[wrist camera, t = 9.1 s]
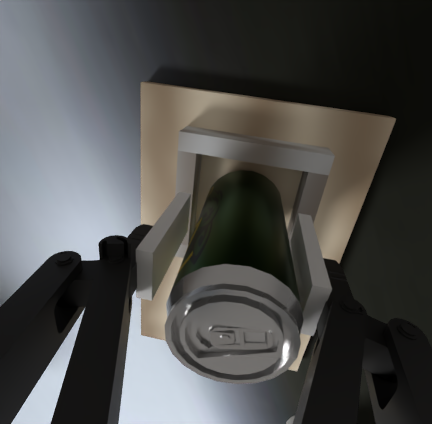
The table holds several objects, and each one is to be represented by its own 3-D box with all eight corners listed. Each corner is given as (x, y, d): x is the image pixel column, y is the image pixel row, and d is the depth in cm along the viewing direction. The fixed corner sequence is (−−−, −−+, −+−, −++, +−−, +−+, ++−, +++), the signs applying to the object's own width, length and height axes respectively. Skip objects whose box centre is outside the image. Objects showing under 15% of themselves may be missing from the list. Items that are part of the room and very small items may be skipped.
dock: (145, 325, 31) (132, 351, 28) (147, 81, 20) (127, 83, 17) (295, 360, 29) (298, 391, 26) (388, 116, 18) (411, 124, 15)
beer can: (280, 163, 19) (309, 282, 9) (282, 231, 22) (306, 391, 11) (202, 169, 20) (142, 284, 10) (212, 234, 23) (173, 384, 12)
